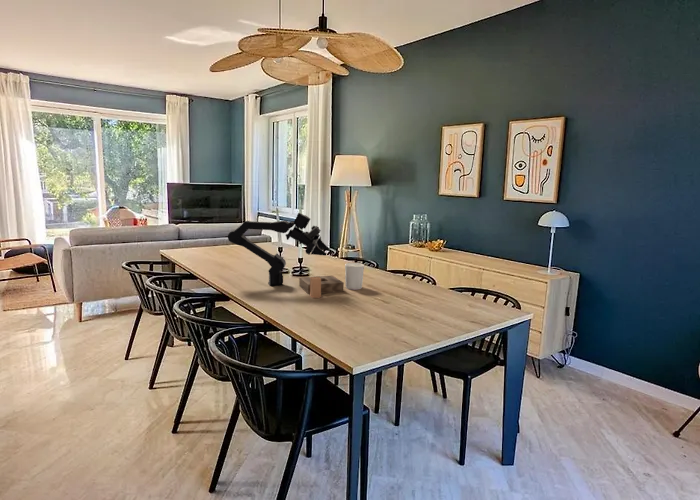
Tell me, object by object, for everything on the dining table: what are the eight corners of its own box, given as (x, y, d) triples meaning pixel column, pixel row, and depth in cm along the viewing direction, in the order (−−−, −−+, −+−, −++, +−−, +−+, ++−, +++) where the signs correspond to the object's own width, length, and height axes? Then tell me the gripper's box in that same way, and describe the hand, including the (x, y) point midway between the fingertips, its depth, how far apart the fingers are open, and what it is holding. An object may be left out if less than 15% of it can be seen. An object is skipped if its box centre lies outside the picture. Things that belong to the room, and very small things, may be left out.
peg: (312, 298, 202) (312, 279, 201) (310, 295, 206) (310, 277, 204) (320, 297, 204) (321, 278, 202) (318, 295, 207) (318, 276, 206)
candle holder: (340, 288, 222) (341, 265, 220) (349, 284, 230) (350, 261, 228) (358, 291, 217) (358, 267, 215) (366, 287, 226) (367, 264, 224)
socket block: (308, 294, 208) (308, 284, 208) (299, 285, 223) (299, 277, 222) (343, 291, 215) (343, 282, 214) (332, 283, 230) (332, 275, 229)
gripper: (305, 227, 209) (333, 244, 211) (311, 218, 227) (337, 233, 228) (294, 246, 212) (322, 262, 214) (301, 236, 230) (326, 251, 232)
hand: (327, 251), depth 222 cm, fingers open, 9 cm apart
